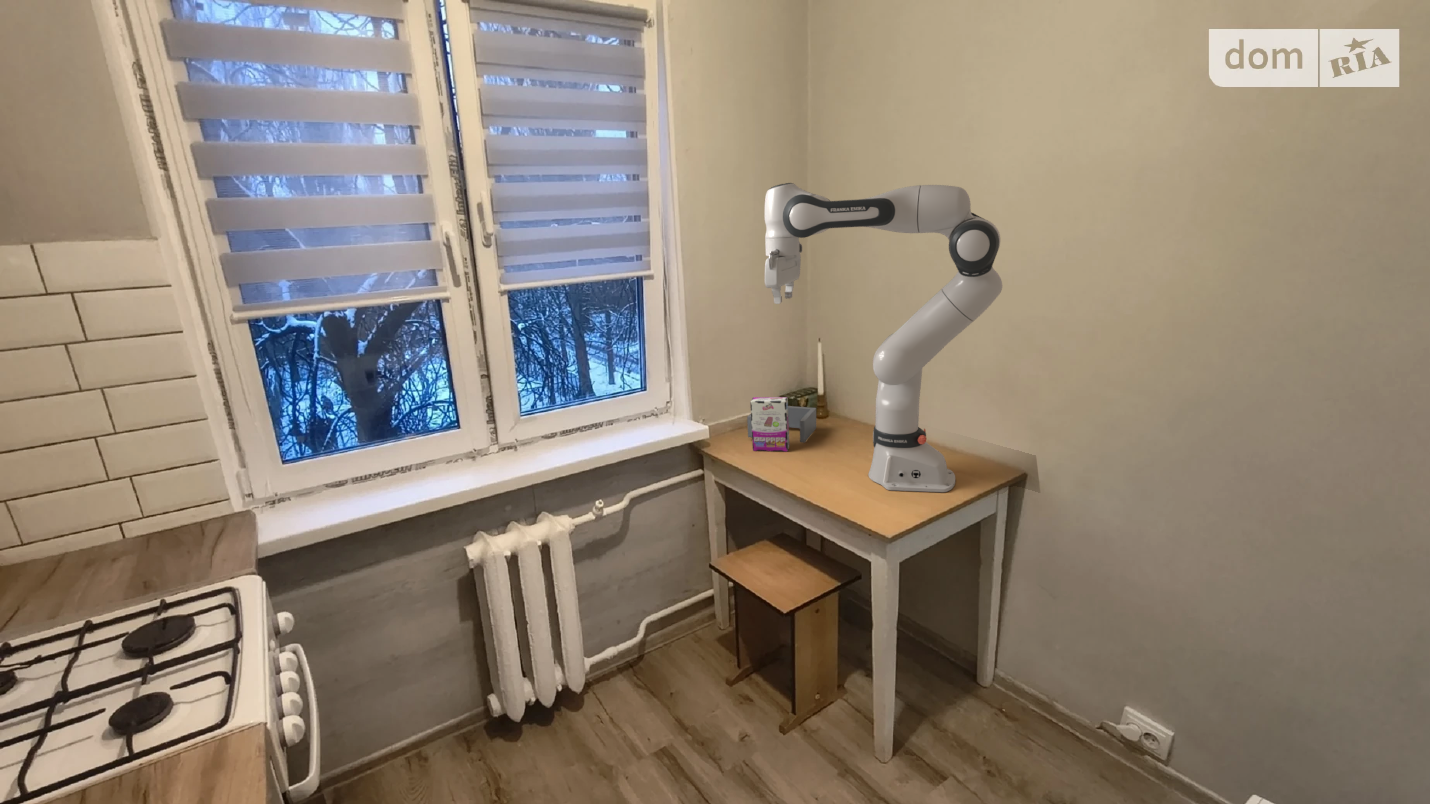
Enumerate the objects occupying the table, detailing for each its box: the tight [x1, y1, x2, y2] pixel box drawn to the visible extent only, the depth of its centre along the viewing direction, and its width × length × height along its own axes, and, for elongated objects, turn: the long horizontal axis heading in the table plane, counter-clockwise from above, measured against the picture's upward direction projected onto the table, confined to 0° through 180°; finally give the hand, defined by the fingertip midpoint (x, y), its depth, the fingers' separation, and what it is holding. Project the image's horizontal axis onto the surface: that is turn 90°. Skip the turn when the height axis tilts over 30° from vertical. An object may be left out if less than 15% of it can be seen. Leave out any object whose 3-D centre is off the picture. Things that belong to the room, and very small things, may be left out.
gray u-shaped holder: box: [746, 405, 817, 443], centre depth 208 cm, size 19×14×8 cm
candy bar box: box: [750, 396, 790, 453], centre depth 197 cm, size 11×5×16 cm, turn 77°
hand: (783, 300), depth 172 cm, fingers open, 8 cm apart
